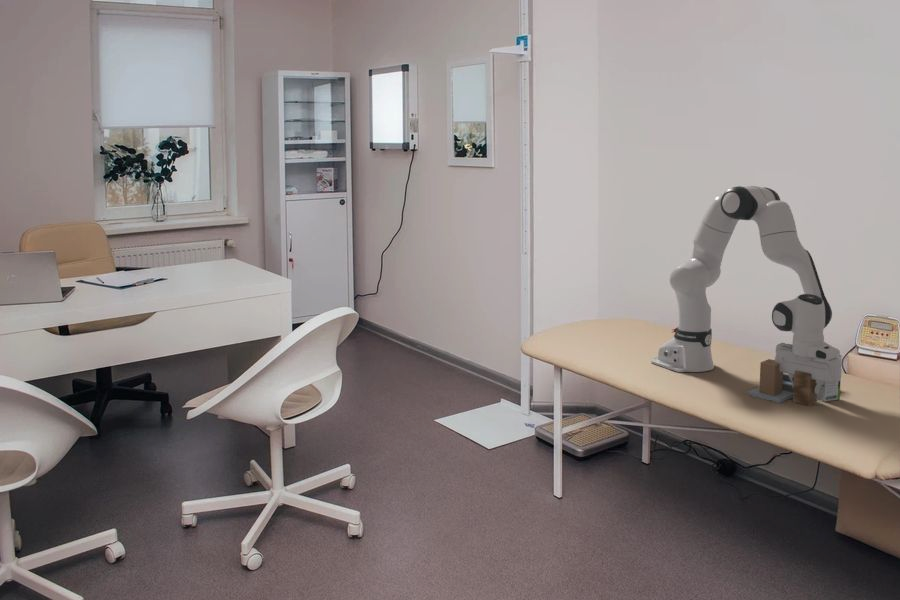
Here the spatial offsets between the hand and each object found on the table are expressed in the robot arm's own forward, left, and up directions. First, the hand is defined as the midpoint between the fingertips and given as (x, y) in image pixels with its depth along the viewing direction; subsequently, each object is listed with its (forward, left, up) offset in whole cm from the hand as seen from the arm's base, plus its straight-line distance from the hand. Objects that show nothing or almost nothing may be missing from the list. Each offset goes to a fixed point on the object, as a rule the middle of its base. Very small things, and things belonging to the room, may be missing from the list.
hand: (805, 390), depth 257 cm
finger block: (0, 0, -4) cm, 4 cm away
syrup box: (+3, +8, -4) cm, 9 cm away
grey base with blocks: (-10, +8, -4) cm, 14 cm away
